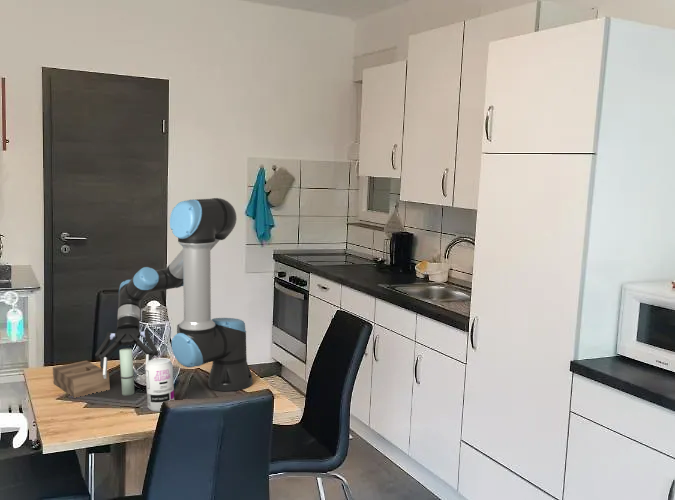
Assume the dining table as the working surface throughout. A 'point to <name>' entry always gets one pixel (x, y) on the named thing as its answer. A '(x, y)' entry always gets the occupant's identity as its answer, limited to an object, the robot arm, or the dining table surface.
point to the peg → (126, 371)
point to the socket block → (80, 378)
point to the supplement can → (159, 382)
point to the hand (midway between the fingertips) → (126, 375)
